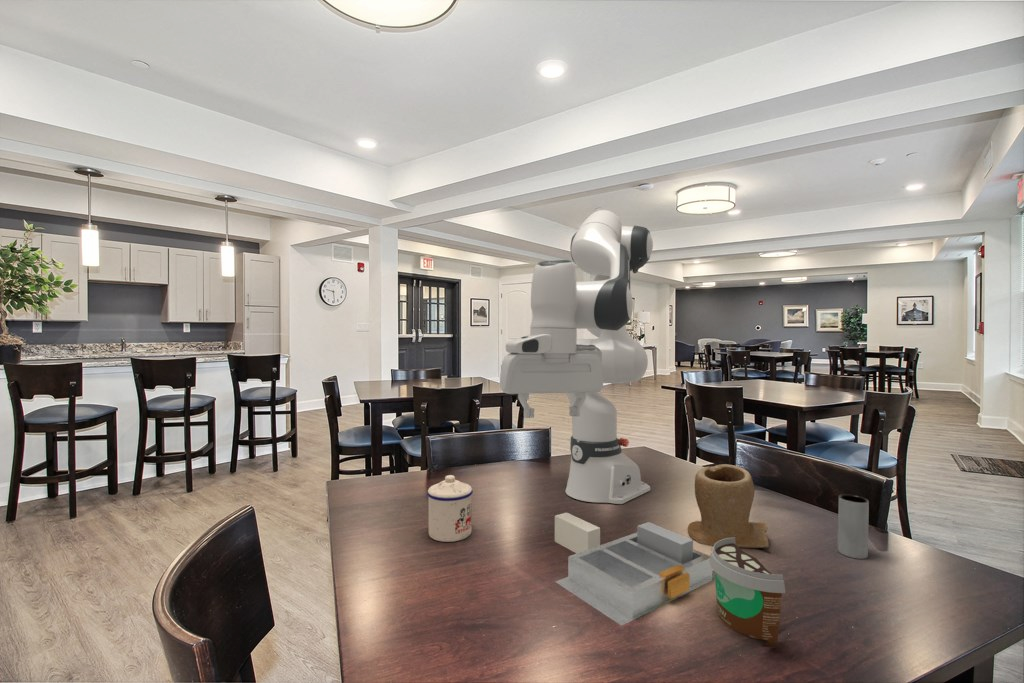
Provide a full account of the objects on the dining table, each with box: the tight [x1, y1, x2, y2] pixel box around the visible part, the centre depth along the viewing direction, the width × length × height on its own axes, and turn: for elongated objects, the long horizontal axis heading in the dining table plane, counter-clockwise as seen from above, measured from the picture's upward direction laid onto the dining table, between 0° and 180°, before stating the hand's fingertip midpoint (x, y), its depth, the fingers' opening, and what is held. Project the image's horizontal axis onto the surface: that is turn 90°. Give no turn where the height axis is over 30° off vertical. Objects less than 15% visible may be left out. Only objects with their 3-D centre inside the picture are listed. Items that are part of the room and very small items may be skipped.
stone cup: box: [687, 463, 770, 549], centre depth 93 cm, size 15×12×15 cm
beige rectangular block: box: [554, 512, 601, 554], centre depth 89 cm, size 3×9×6 cm, turn 35°
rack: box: [555, 532, 715, 627], centre depth 78 cm, size 24×15×5 cm, turn 125°
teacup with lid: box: [426, 474, 474, 543], centre depth 99 cm, size 12×9×12 cm
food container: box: [709, 537, 786, 649], centre depth 67 cm, size 12×6×10 cm, turn 5°
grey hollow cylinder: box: [837, 493, 870, 560], centre depth 89 cm, size 4×4×10 cm
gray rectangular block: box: [636, 521, 694, 564], centre depth 82 cm, size 3×9×6 cm, turn 35°
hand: (552, 416), depth 92 cm, fingers open, 8 cm apart
